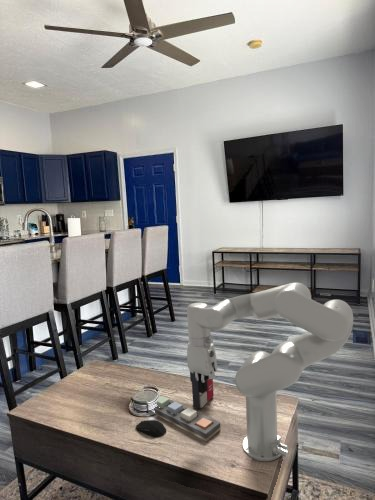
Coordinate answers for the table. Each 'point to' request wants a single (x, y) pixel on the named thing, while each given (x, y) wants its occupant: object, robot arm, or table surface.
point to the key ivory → (189, 414)
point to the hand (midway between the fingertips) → (203, 391)
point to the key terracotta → (204, 423)
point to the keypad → (188, 425)
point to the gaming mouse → (151, 428)
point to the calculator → (198, 397)
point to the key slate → (175, 408)
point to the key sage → (162, 402)
